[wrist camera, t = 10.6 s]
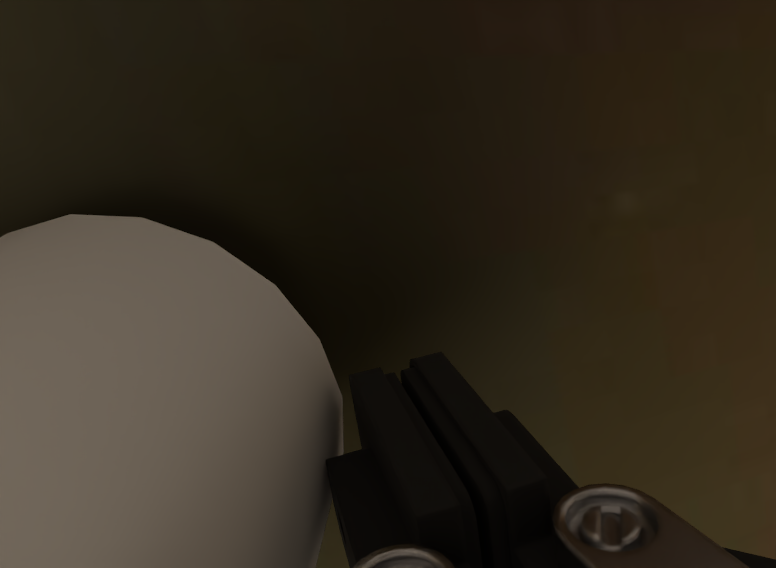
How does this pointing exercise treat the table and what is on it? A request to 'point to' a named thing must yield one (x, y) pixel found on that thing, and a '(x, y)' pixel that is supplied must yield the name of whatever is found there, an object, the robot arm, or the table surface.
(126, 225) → the can
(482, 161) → the table surface
